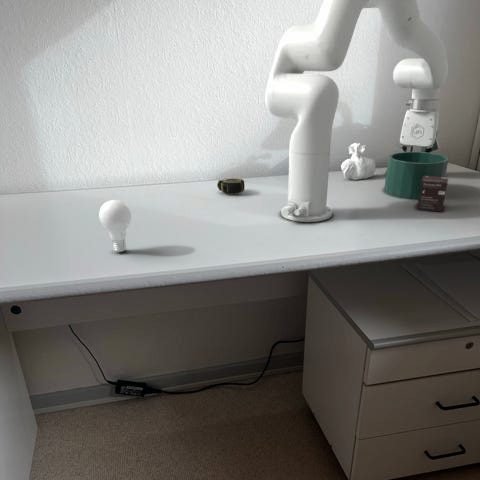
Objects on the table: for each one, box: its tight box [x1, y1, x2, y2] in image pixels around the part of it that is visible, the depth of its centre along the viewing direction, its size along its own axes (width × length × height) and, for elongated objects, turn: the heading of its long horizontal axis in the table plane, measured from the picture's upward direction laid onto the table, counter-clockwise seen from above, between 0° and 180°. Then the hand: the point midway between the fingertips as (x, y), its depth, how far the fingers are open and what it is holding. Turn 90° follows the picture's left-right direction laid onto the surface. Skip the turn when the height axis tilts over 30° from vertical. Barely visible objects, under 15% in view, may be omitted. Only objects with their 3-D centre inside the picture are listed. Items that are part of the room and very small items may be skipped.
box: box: [416, 176, 449, 212], centre depth 126 cm, size 6×6×7 cm
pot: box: [384, 151, 450, 200], centre depth 139 cm, size 16×16×10 cm
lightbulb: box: [98, 199, 132, 254], centre depth 102 cm, size 6×6×11 cm
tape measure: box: [216, 178, 245, 196], centre depth 142 cm, size 7×7×4 cm
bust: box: [340, 142, 377, 181], centre depth 154 cm, size 12×8×11 cm
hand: (414, 168), depth 155 cm, fingers closed on lid, 2 cm apart
